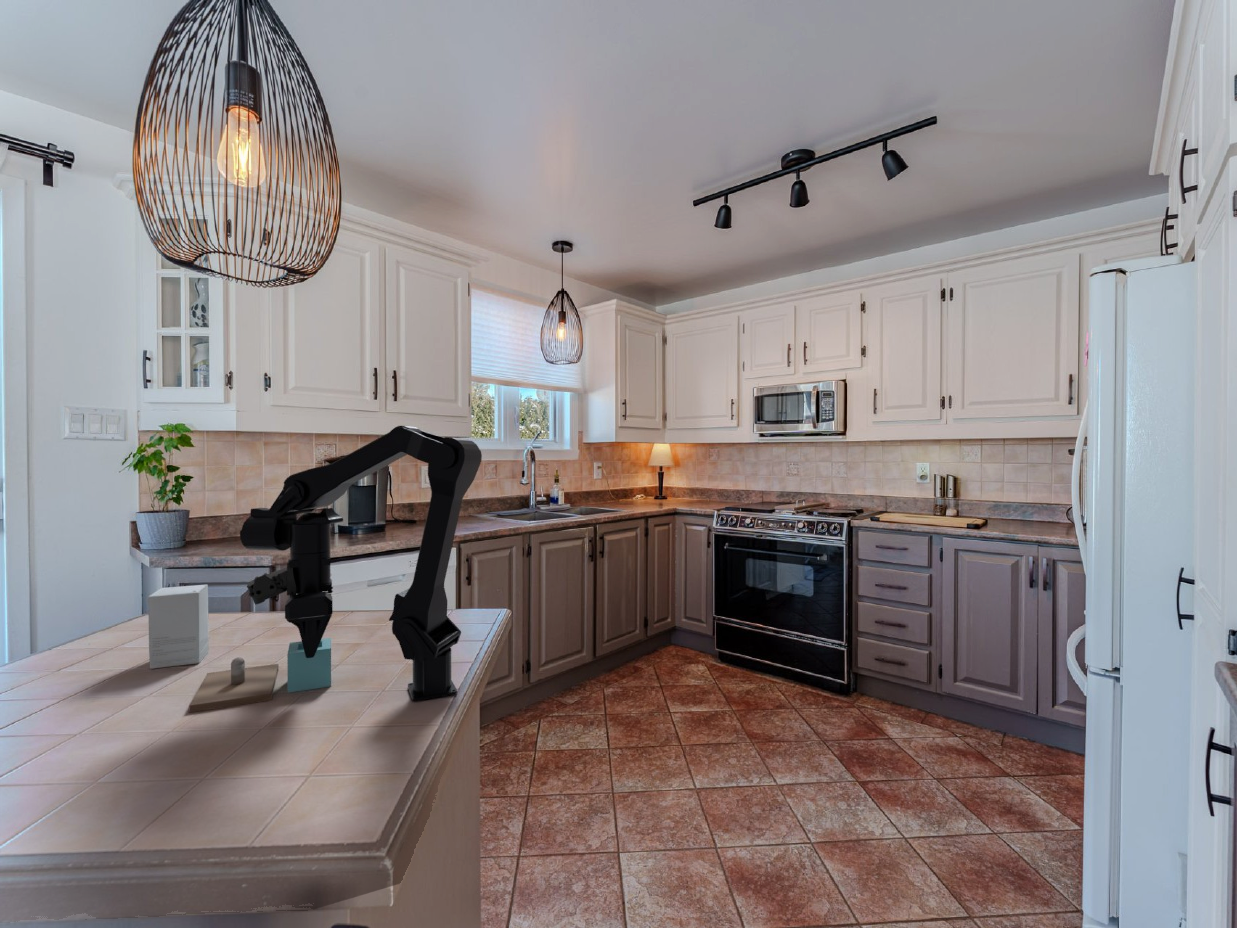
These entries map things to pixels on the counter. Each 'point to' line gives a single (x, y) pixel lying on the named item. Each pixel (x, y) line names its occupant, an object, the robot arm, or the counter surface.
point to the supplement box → (178, 626)
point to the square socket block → (309, 667)
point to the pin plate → (235, 686)
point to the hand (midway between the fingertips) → (310, 648)
